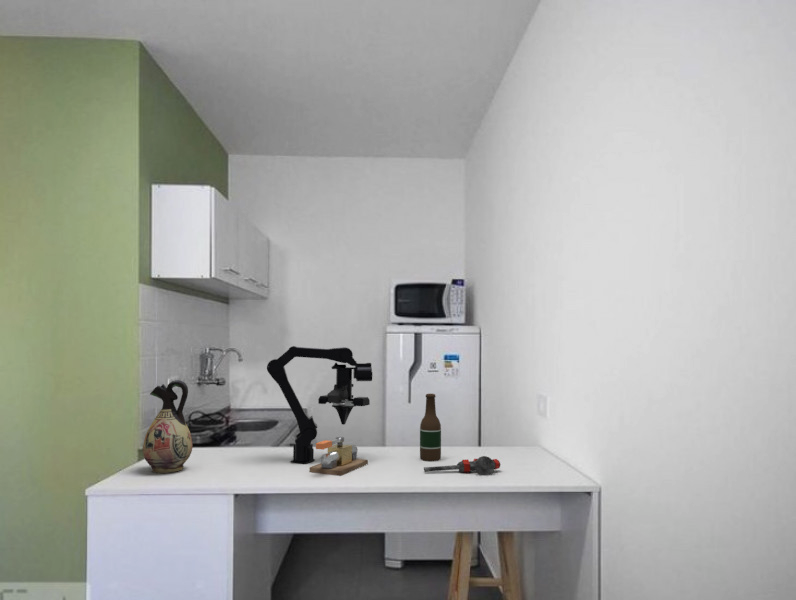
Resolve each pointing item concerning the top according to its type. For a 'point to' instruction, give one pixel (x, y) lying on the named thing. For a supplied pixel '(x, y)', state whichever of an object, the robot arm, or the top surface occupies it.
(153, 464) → the ceramic jug
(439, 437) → the beer bottle
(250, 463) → the top surface
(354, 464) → the valve base
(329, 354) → the robot arm
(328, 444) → the lever
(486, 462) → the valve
